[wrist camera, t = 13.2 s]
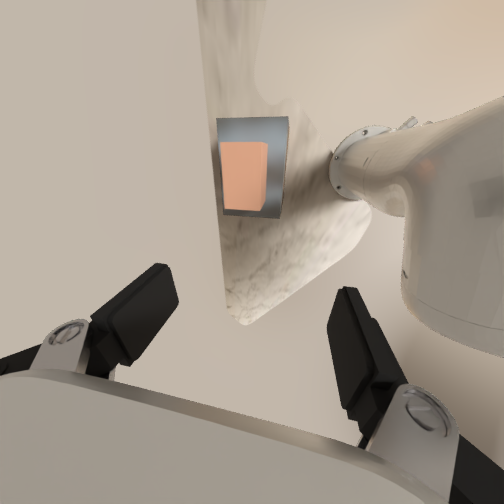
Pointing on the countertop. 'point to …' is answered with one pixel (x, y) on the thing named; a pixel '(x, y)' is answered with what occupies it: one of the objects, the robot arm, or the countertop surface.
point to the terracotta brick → (244, 174)
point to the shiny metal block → (276, 137)
